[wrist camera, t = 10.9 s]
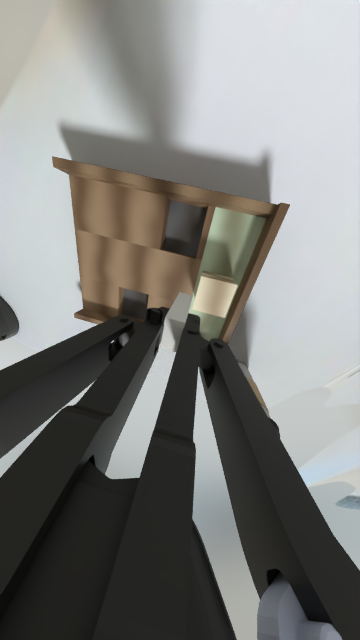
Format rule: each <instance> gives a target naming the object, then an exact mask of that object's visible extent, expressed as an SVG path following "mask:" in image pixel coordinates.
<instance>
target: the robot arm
mask: <svg viewBox="0 0 360 640" xmlns="http://www.w3.org/2000/svg"><path fill="white" fill-rule="evenodd" d="M192 297H193V295H190V294H186V293H182V292H179V294H178V296H177V298H176V299H175V301H174V303H173V305H172V306H171V308H166V307H160V308H148V309H147V313H146V320H145V321H144V322H134V318H133V317H131V316H129V315H118V316H116V317H113V318H111V319H109V320H107V321H105V322H103V323H101V324H98V325H96V326H94V327H92V328H90V329H88V330H86V331H84V332H81V333H79V334H77V335H75V336H73V337H71V338H69V339H66V340H64V341H62V342H60V343H58V344H56V345H54V346H51V347H49V348H47V349H45V350H43V351H41V352H39V353H36V354H34V355H32V356H30V357H28V358H26V359H24V360H21V361H19V362H17V363H15V364H13V365H11V366H9V367H7V368H4V369H2V370H0V458H1V457H3V456H4V455H5V454H6V453H8V452H9V451H10V450H11V449H12V448H14V447H15V446H16V445H17V444H19V443H20V442H21V441H22V440H23V439H25V438H26V437H27V436H28V435H30V434H31V433H32V432H33V431H34V430H36V429H37V428H38V427H39V426H40V425H41V424H43V423H44V422H45V421H47V420H48V419H49V418H50V417H51V416H53V415H54V414H55V413H56V412H57V411H58V410H60V409H61V408H62V407H63V406H65V405H66V404H67V403H68V402H70V401H71V400H72V399H73V398H74V397H76V396H77V395H78V394H79V393H81V392H82V391H83V390H84V389H85V388H87V387H88V386H89V385H90V384H91V383H93V382H94V381H95V380H96V379H97V380H96V381H95V382H94V383H93V384H92V386H91V387H90V388H89V389H88V391H87V392H86V393H85V394H84V395H83V397H82V398H81V399H80V401H79V402H77V404H75V405H74V406H67V407H65V408H63V409H62V410H61V411H60V412H59V413H58V414H57V415H56V416H55V417H54V418H53V419H52V420H51V421H50V422H49V423H48V425H47V426H46V427H45V428H44V429H43V430H42V431H41V433H40V434H39V435H38V436H37V437H36V438H35V439H34V440H33V442H32V443H31V444H30V445H29V446H28V447H27V448H26V449H25V451H24V452H23V453H22V454H21V455H20V456H19V457H18V459H17V460H16V461H15V462H14V463H13V464H12V465H11V467H10V468H9V469H8V470H7V471H6V472H5V473H4V474H3V475H2V477H1V478H0V640H237V639H236V636H235V633H234V630H233V627H232V624H231V622H230V619H229V616H228V613H227V610H226V607H225V604H224V601H223V598H222V596H221V593H220V590H219V587H218V584H217V581H216V578H215V575H214V572H213V569H212V566H211V564H210V561H209V558H208V555H207V552H206V549H205V546H204V543H203V541H202V538H201V536H200V533H199V531H198V529H197V527H196V525H195V523H194V521H193V519H192V512H193V494H194V476H195V458H196V456H195V455H196V454H195V453H196V449H195V443H194V442H193V429H194V415H195V402H196V389H197V376H198V367H200V368H199V371H200V375H201V379H202V383H203V387H204V392H205V396H206V400H207V404H208V408H209V412H210V417H211V421H212V425H213V429H214V433H215V438H216V442H217V446H218V450H219V454H220V458H221V463H222V466H223V471H224V475H225V479H226V483H227V488H228V492H229V496H230V500H231V505H232V509H233V513H234V517H235V521H236V525H237V529H238V533H239V537H240V540H241V544H242V548H243V551H244V555H245V558H246V561H247V564H248V567H249V570H250V572H251V576H252V579H253V582H254V585H255V587H256V590H257V593H258V595H259V598H260V602H259V608H258V614H257V639H258V640H360V571H359V569H358V568H357V566H356V565H355V564H354V562H353V561H352V560H351V558H350V557H349V556H348V554H347V553H346V552H345V550H344V549H343V547H342V546H341V545H340V543H339V542H338V541H337V539H336V538H335V537H334V535H333V533H332V532H331V530H330V528H329V526H328V525H327V523H326V521H325V519H324V517H323V515H322V514H321V512H320V510H319V508H318V506H317V505H316V503H315V501H314V499H313V497H312V496H311V494H310V492H309V490H308V488H307V487H306V485H305V483H304V481H303V479H302V478H301V476H300V474H299V472H298V470H297V469H296V467H295V465H294V463H293V461H292V460H291V458H290V456H289V455H288V452H287V451H286V449H285V447H284V445H283V443H282V442H281V440H280V438H279V436H278V434H277V433H276V431H275V429H274V427H273V425H272V424H271V422H270V420H269V418H268V416H267V415H266V413H265V411H264V409H263V407H262V406H261V404H260V402H259V400H258V398H257V397H256V395H255V393H254V391H253V389H252V387H251V386H250V384H249V382H248V380H247V378H246V377H245V375H244V373H243V371H242V369H241V368H240V366H239V364H238V362H237V360H236V359H235V357H234V355H233V353H232V351H231V350H230V348H229V346H228V345H227V343H226V342H224V341H223V340H221V339H217V338H213V339H211V340H210V341H208V340H206V339H204V338H203V337H202V336H201V333H200V317H199V316H198V315H194V314H190V313H189V309H190V305H191V301H192ZM18 330H19V325H18V321H17V318H16V316H15V314H14V313H13V311H12V310H11V308H10V307H9V306H8V305H7V303H6V302H5V301H4V300H3V299H1V298H0V341H1V340H5V339H8V338H10V337H12V336H14V335H16V334H17V332H18ZM113 340H114V342H113V343H111V342H112V341H113ZM159 345H160V347H161V348H164V349H168V350H172V351H175V352H176V355H175V359H174V362H173V366H172V369H171V373H170V376H169V380H168V383H167V387H166V390H165V394H164V397H163V400H162V404H161V407H160V411H159V414H158V418H157V421H156V425H155V428H154V431H153V434H152V437H151V440H150V444H149V447H148V451H147V454H146V457H145V461H144V464H143V468H142V472H141V475H140V478H130V479H110V478H108V477H107V476H106V475H105V472H106V470H107V467H108V464H109V461H110V458H111V454H112V451H113V449H114V447H115V444H116V442H117V440H118V438H119V436H120V433H121V431H122V429H123V427H124V425H125V422H126V420H127V418H128V416H129V414H130V411H131V409H132V407H133V405H134V403H135V401H136V398H137V396H138V394H139V392H140V390H141V387H142V385H143V383H144V381H145V379H146V376H147V374H148V372H149V370H150V368H151V365H152V363H153V361H154V359H155V357H156V354H157V352H158V348H159Z"/></svg>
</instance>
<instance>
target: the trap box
mask: <svg viewBox="0 0 360 640" xmlns="http://www.w3.org/2000/svg"><path fill="white" fill-rule="evenodd" d="M52 160H53V167H55V168H57V169H59V170H61V171H63V172H65V173H67V174H69V179H70V188H71V197H72V207H73V216H74V225H75V235H76V244H77V254H78V263H79V272H80V282H81V291H82V300H83V309H82V310H80V311H78V312H76V313H74V316H75V318H78V319H81V320H85V321H88V322H92V323H95V324H101V323H103V322H105V321H107V320H109V319H111V318H113V317H116V316H118V315H129V316H131V317H133V318H134V322H144V321H145V320H146V313H147V309H148V308H160V307H166V308H171V306H172V305H173V303H174V301H175V299H176V298H177V296H178V294H179V292H182V293H186V294H190V295H193V297H192V301H191V305H190V309H189V313H190V314H194V315H198V316H199V317H200V333H201V336H202V337H203V338H204V339H206V340H208V341H210V340H211V339H213V338H217V339H221V340H223V341H224V342H226V343H227V344H228V342H229V340H230V338H231V335H232V333H233V331H234V329H235V326H236V324H237V322H238V320H239V317H240V315H241V313H242V311H243V309H244V306H245V304H246V302H247V300H248V297H249V295H250V293H251V291H252V289H253V286H254V284H255V282H256V280H257V277H258V275H259V273H260V271H261V268H262V266H263V264H264V262H265V260H266V257H267V255H268V253H269V251H270V248H271V246H272V244H273V242H274V240H275V237H276V235H277V233H278V231H279V228H280V226H281V224H282V222H283V220H284V217H285V215H286V213H287V211H288V208H289V206H290V204H285V203H280V204H278V205H276V204H272V203H267V202H262V201H258V200H253V199H248V198H244V197H239V196H234V195H230V194H225V193H220V192H216V191H211V190H206V189H202V188H197V187H192V186H188V185H183V184H179V183H174V182H169V181H165V180H160V179H155V178H151V177H146V176H141V175H137V174H132V173H127V172H123V171H118V170H113V169H109V168H104V167H99V166H95V165H90V164H85V163H81V162H76V161H71V160H67V159H62V158H57V157H53V156H52ZM202 271H207V272H211V273H215V274H219V275H223V276H227V277H231V278H233V279H234V280H235V282H236V283H237V285H238V286H237V289H236V291H235V294H234V296H233V299H232V301H231V304H230V306H229V309H228V311H227V314H226V316H225V318H223V317H219V316H216V315H212V314H208V313H204V312H201V311H197V310H193V309H192V308H193V304H194V301H195V297H196V293H197V290H198V286H199V282H200V278H201V275H202Z"/></svg>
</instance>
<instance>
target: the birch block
mask: <svg viewBox="0 0 360 640" xmlns="http://www.w3.org/2000/svg"><path fill="white" fill-rule="evenodd" d="M237 286H238V285H237V283H236V282H235V280H234V279H233V278H231V277H227V276H223V275H219V274H215V273H211V272H207V271H202V275H201V278H200V282H199V286H198V290H197V293H196V297H195V301H194V304H193V308H192V309H193V310H197V311H201V312H204V313H208V314H212V315H216V316H219V317H223V318H225V316H226V314H227V311H228V309H229V306H230V304H231V301H232V299H233V296H234V294H235V291H236V289H237Z"/></svg>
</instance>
